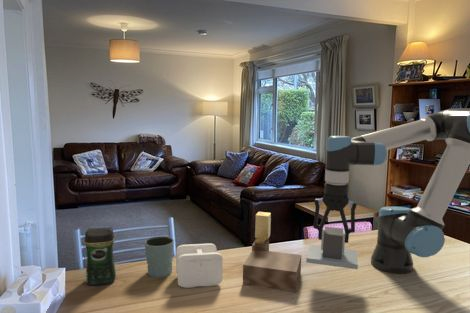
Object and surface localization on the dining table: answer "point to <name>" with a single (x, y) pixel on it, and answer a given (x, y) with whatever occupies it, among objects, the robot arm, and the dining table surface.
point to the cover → (332, 251)
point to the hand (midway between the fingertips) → (332, 250)
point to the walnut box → (271, 268)
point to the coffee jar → (99, 256)
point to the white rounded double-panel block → (198, 265)
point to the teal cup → (159, 256)
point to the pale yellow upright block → (262, 227)
